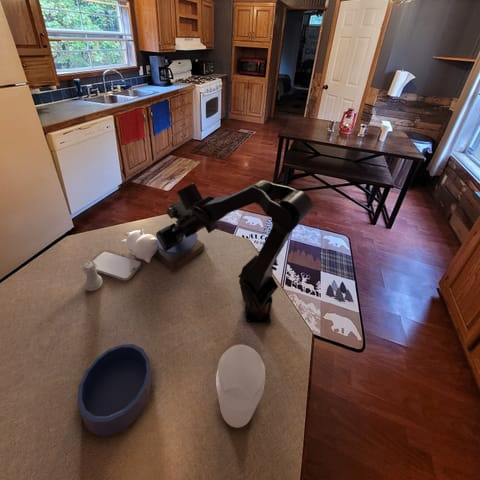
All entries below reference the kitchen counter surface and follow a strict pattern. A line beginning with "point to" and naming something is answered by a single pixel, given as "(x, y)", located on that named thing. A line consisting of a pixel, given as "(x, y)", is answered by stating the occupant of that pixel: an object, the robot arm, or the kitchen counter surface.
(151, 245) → the white rounded figure
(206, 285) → the kitchen counter surface
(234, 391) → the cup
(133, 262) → the smartphone
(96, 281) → the rook chess piece
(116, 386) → the tin
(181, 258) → the trivet
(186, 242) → the lid
